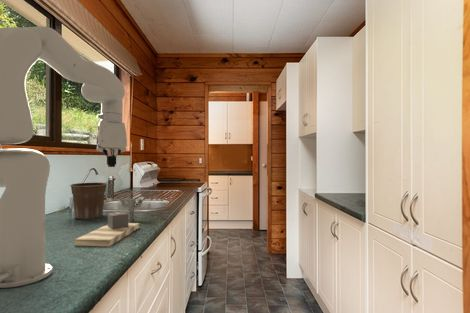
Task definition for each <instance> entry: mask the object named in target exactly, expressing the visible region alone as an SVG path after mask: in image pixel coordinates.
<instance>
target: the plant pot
mask: <svg viewBox="0 0 470 313" xmlns="http://www.w3.org/2000/svg"><path fill="white" fill-rule="evenodd" d="M107 185H108V183H107V182H79V183H71V184H70V185H69V187H70V189H71V194H72V202H73V212H74V218H75V219H76V220H77V219H78V220H85V221H86V220H94V219H97V218H102V217H103V215H104V204H105V203H104V202H105V195H106V191H107Z"/></svg>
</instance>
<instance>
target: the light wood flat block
mask: <svg viewBox="0 0 470 313" xmlns="http://www.w3.org/2000/svg"><path fill="white" fill-rule="evenodd" d="M136 229H137V230H138V229H140V223H139V222H138V223H137V222H128V227H122V228H116V229H112V228H110V227H108V223H107V224H105V225H104V226H100V227H98V228H96V229H94V230H92V231H90V232H88V233H86V234H84V235H82V236H79V237H77V238H75V239H74V246H76V247H77V246H82V247H83V246H85V247H87V246H89V247H111V246H112V245H114V244H115V243H117V242H119V241H120V240H122V239H124V238H125V237H127V236H129V235H130V234H132V233H134V232H135V231H137V230H136ZM133 231H134V232H133Z"/></svg>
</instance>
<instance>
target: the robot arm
mask: <svg viewBox="0 0 470 313" xmlns="http://www.w3.org/2000/svg"><path fill="white" fill-rule="evenodd" d="M38 61H43V62H44V63H45V64H46V65H48V66H49V67H50V68H51V69H53V70H54V71H56V73H58V74H59V75H61V77H63V78H64V79H66V80H68V81H71V82H74V83H79V84H82V85H81V90H80V91H81V95H82V97H83V98H84V99H85V100H86V101H88V102H90V103H98V104H100V106H101V107H100V114H97V115H96V118H97V119H99V120H100V121H99V122H98V126H97V130H96V149H95V150H96V152H100V153H103V154H104V155H105V157H106V165H107V167H108V168H115V167H116V165H117V157H118V155H119V154H120V153H125V152H126V151H127V146H128V139H127V131H126V130H127V129H126V124H125V122H123V99H124V98H125V94H126V90H125V86H124V84H123V82H122V81H121V80H120V79H119V78H118V77H117V75H116V74H115V73H114V72H113V71H111V70H110V69H108V68H107V67H106V66H105V67H104V66H102V65H100V64H98V63H95V62H93V61H91V60H89V59H86V58H84V57H83V56H82V55H81V54H80V53H79V52H78V51H77V50H76V49H75V48H74V47H73V46H72V44H70V43H69V42H68V41H67V40H66V39H65V38H64V37H63V36H62V35H61V34H60V33H59V32H58V31H57V30H55V29H54V28H51V27H49V26H43V25H42V26H41V25H38V26H26V27H23V26H22V27H17V26H15V27H14V26H13V27H1V28H0V188H5V189H4V190H3V193H2V194H1V196H0V288H1V289H2V288H4V289H5V288H6V289H7V288H8V289H9V288H14V287H15V288H16V287H21V286H26V285H30V284H33V283H37V282H39V281H41V280H44V279H45V278H47V277H49V276H50V275H51V274H52V273H53V265H51V264H50V263H46V195H47V194H46V192H47V191H46V190H47V185H48V181H49V176H50V171H51V170H50V169H51V165H50V161H49V159H48V158H47V156H46V155H45V154H44V153H42V152H41V151H39V150H36V149H31V148H3V147H2V145H17V144H19V145H20V144H23V143H24V144H25V143H26V142H29V141H30V140H31V139H32V138H33V136H34V132H35V130H34V127H35V126H34V121H33V117H32V112H31V108H30V102H29V98H28V93H27V89H26V88H27V87H26V79H27V76H28V73H29V71H30V69H32V67H33V65H35V63H36V62H38ZM111 149H112V151H111ZM111 152H112V153H111Z"/></svg>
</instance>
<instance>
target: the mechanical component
mask: <svg viewBox="0 0 470 313" xmlns="http://www.w3.org/2000/svg"><path fill="white" fill-rule="evenodd" d="M120 203H121V206H122V208H128V211H129V222H134V219H135V218H134V217H135V216H134V212H135V209H137V208H138V209H139V208H140V207H142V204H143V199H141V198H139V199H138V200H137V201H136V198H133V197H132V198H127V197H125V198H121V199H120Z"/></svg>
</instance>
